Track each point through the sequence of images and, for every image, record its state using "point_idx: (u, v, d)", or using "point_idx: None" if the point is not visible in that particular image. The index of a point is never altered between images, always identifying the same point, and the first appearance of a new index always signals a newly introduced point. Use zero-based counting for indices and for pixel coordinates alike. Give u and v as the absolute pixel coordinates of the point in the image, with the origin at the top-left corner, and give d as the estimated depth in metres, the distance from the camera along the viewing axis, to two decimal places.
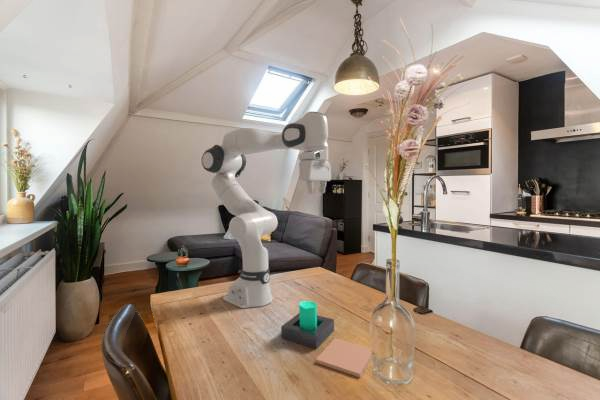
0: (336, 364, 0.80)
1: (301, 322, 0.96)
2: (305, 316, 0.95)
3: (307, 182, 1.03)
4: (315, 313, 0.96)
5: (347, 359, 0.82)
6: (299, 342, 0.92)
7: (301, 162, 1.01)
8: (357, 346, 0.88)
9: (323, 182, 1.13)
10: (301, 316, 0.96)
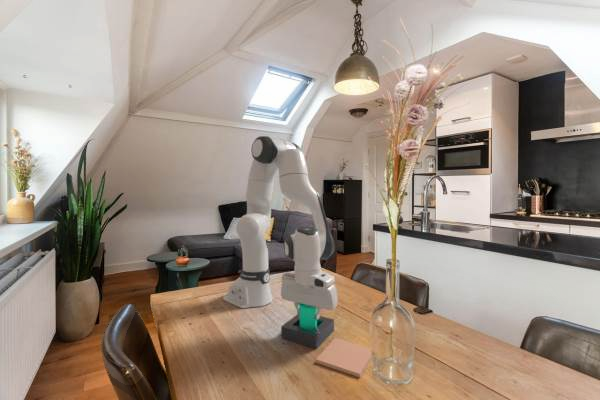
0: (336, 364, 0.80)
1: (301, 322, 0.96)
2: (305, 316, 0.95)
3: (320, 308, 0.94)
4: (315, 313, 0.96)
5: (347, 359, 0.82)
6: (299, 342, 0.92)
7: (330, 290, 0.91)
8: (357, 346, 0.88)
9: None
10: (301, 316, 0.96)
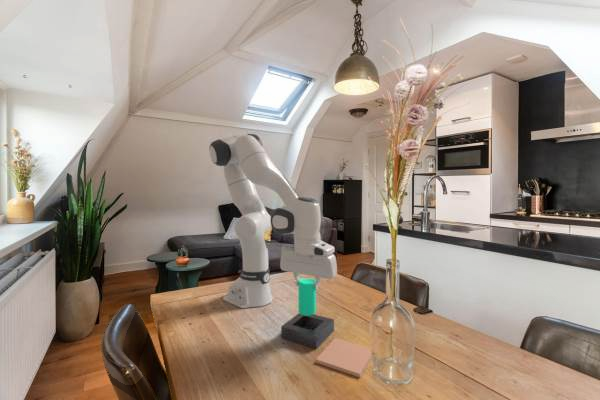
0: (336, 364, 0.80)
1: (300, 298, 0.96)
2: (304, 292, 0.94)
3: (319, 278, 0.94)
4: (314, 290, 0.95)
5: (347, 359, 0.82)
6: (299, 342, 0.92)
7: (330, 259, 0.91)
8: (357, 346, 0.88)
9: (298, 273, 0.99)
10: (300, 292, 0.95)
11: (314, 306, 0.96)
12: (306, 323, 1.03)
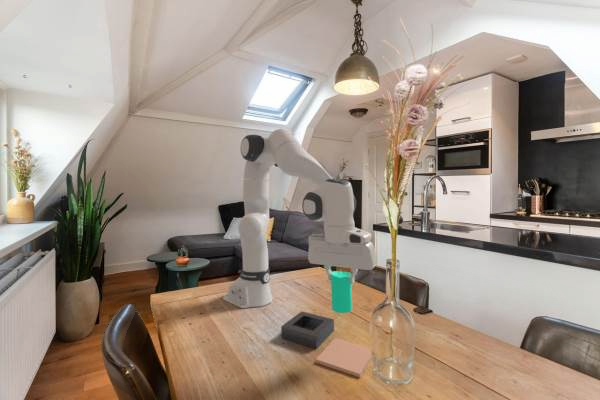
0: (336, 364, 0.80)
1: (334, 294, 0.83)
2: (338, 287, 0.82)
3: (356, 269, 0.82)
4: (350, 284, 0.83)
5: (347, 359, 0.82)
6: (299, 342, 0.92)
7: (369, 247, 0.78)
8: (357, 346, 0.88)
9: (330, 265, 0.87)
10: (334, 287, 0.83)
11: (350, 302, 0.84)
12: (306, 323, 1.03)
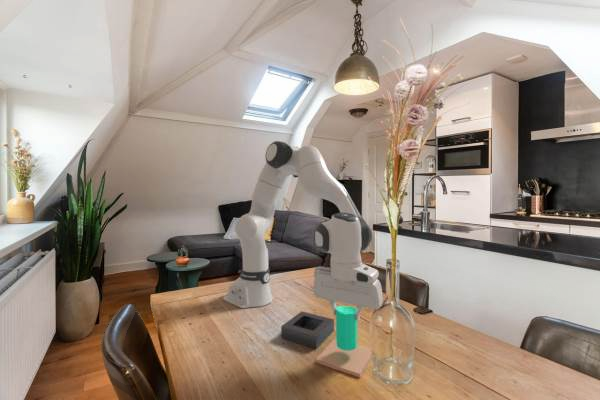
0: (336, 364, 0.80)
1: (339, 331, 0.82)
2: (344, 324, 0.81)
3: (361, 307, 0.81)
4: (355, 320, 0.82)
5: (347, 359, 0.82)
6: (299, 342, 0.92)
7: (376, 286, 0.77)
8: (357, 346, 0.88)
9: None
10: (339, 324, 0.82)
11: (355, 339, 0.83)
12: (306, 323, 1.03)
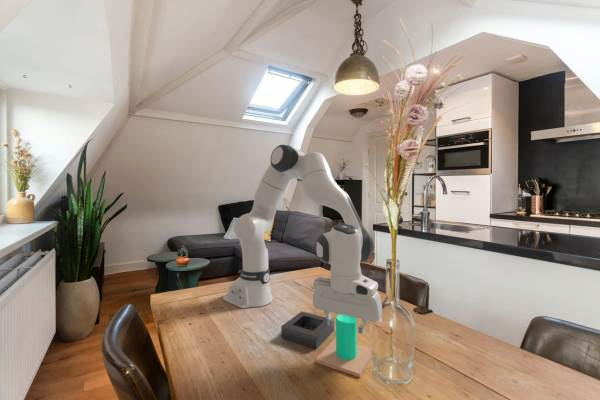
0: (336, 364, 0.80)
1: (338, 340, 0.83)
2: (343, 333, 0.81)
3: (367, 320, 0.80)
4: (355, 330, 0.82)
5: None
6: (299, 342, 0.92)
7: (375, 299, 0.77)
8: (357, 346, 0.88)
9: (330, 310, 0.87)
10: (338, 333, 0.82)
11: (355, 348, 0.83)
12: (306, 323, 1.03)
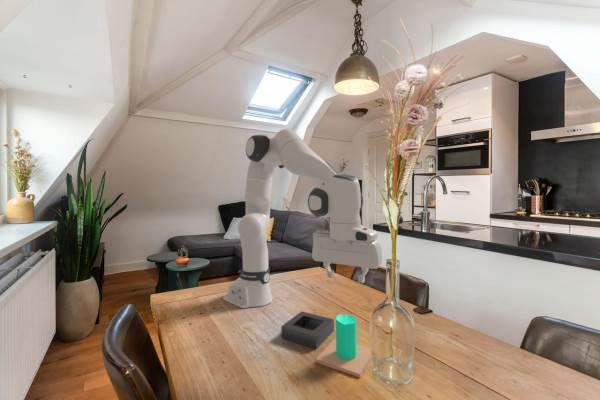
0: (336, 364, 0.80)
1: (338, 340, 0.83)
2: (343, 333, 0.81)
3: (366, 269, 0.79)
4: (355, 330, 0.82)
5: None
6: (299, 342, 0.92)
7: (375, 245, 0.77)
8: (357, 346, 0.88)
9: (329, 262, 0.86)
10: (338, 333, 0.82)
11: (355, 348, 0.83)
12: (306, 323, 1.03)
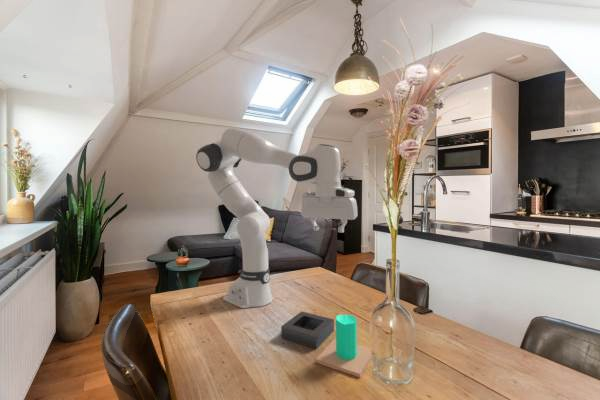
0: (336, 364, 0.80)
1: (338, 340, 0.83)
2: (343, 333, 0.81)
3: (345, 220, 0.97)
4: (355, 330, 0.82)
5: None
6: (299, 342, 0.92)
7: (351, 200, 0.94)
8: (357, 346, 0.88)
9: (315, 219, 1.04)
10: (338, 333, 0.82)
11: (355, 348, 0.83)
12: (306, 323, 1.03)
